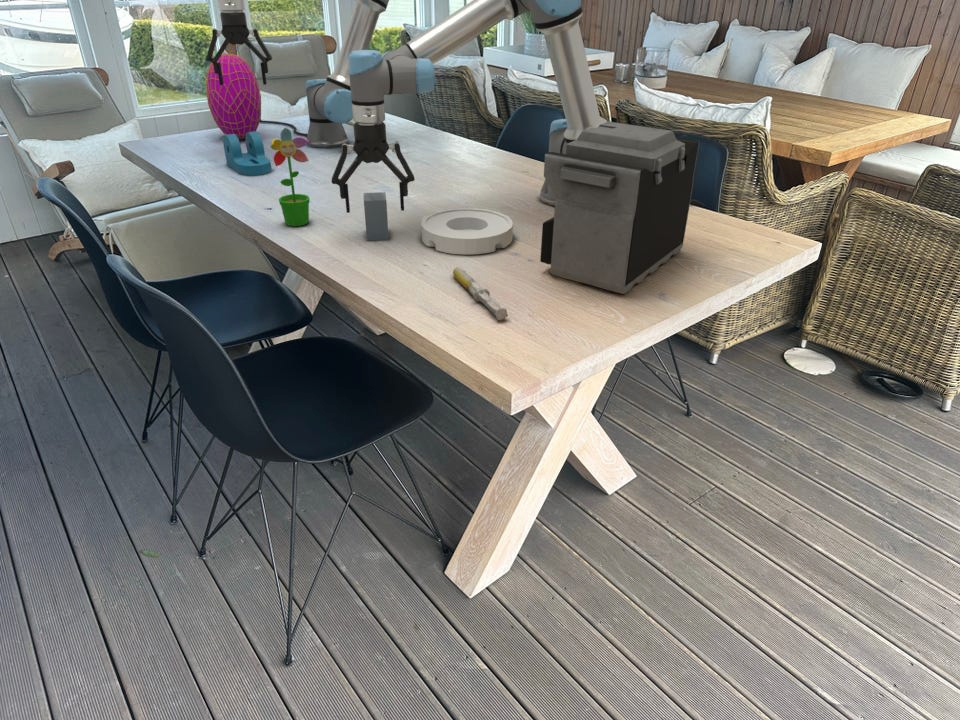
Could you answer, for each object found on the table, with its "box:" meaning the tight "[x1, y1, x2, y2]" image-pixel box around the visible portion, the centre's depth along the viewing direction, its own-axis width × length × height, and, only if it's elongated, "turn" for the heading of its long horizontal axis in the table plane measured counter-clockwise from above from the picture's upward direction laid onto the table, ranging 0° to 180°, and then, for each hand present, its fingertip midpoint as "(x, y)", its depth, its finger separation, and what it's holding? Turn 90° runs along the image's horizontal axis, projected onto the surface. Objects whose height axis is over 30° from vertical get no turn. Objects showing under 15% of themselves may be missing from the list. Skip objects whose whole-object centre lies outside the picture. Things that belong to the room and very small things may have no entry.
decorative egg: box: [205, 53, 262, 141], centre depth 258 cm, size 19×19×30 cm
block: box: [363, 191, 390, 242], centre depth 174 cm, size 7×6×10 cm
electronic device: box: [539, 121, 701, 295], centre depth 154 cm, size 37×22×30 cm, turn 144°
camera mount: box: [222, 130, 272, 176], centre depth 226 cm, size 18×10×10 cm, turn 35°
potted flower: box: [270, 127, 310, 227], centre depth 177 cm, size 9×8×25 cm
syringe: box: [452, 266, 509, 321], centre depth 145 cm, size 25×4×3 cm, turn 21°
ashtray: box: [420, 207, 514, 256], centre depth 174 cm, size 23×23×4 cm
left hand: (243, 84), depth 224 cm, fingers open, 13 cm apart
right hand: (375, 210), depth 173 cm, fingers open, 13 cm apart
